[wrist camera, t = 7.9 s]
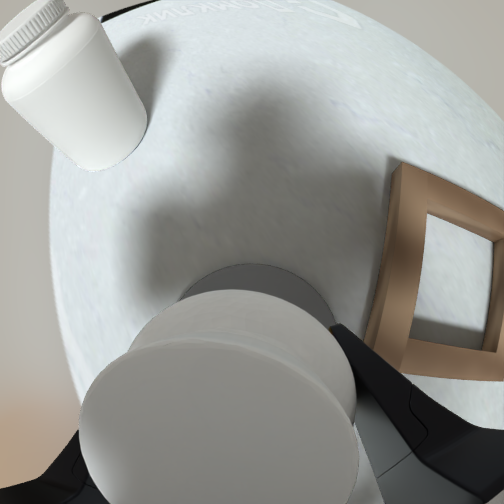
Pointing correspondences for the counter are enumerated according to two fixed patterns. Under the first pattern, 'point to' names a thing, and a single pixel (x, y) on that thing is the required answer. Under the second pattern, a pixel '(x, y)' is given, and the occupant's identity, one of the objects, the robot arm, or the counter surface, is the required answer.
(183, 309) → the supplement bottle
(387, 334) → the pocket block
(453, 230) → the counter surface
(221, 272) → the coaster
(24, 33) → the pill bottle
